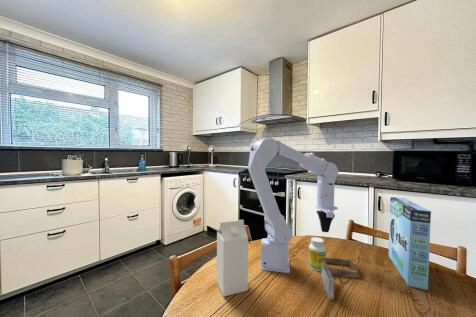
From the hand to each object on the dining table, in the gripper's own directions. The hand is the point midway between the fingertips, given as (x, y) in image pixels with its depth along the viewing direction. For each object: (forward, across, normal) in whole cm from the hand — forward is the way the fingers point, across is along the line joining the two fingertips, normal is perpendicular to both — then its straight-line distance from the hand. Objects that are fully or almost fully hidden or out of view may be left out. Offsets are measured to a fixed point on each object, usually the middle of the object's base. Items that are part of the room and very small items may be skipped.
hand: (325, 231), depth 73 cm
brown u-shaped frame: (+10, -6, -4) cm, 13 cm away
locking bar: (+10, -17, +3) cm, 20 cm away
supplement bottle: (+11, -6, +4) cm, 13 cm away
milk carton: (+11, -22, +30) cm, 39 cm away
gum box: (+11, -2, -25) cm, 27 cm away
